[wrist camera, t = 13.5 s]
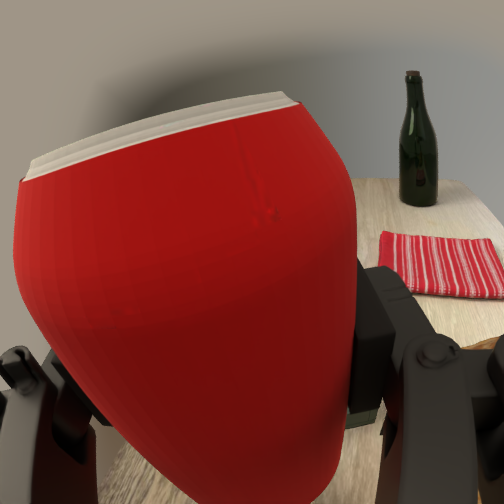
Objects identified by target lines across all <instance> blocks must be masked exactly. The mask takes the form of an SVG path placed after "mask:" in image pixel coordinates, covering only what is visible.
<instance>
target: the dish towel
mask: <svg viewBox="0 0 504 504" xmlns="http://www.w3.org/2000/svg"><path fill="white" fill-rule="evenodd" d="M379 251H380V254H379V261H378V266H384V265H386V266H388V267H389V268H391V269H392V270H394V271H395V272H397V273H398V274H399V275H400V277H401V278H402V280H403V281H404V283H405V284H406V287H408V289H409V290H410V292H411V293H424V294H433V295H447V296H449V295H450V296H456V297H468V298H493V299H494V298H497V299H502V298H504V270H503V267H502V265H501V263H500V260H499V258H498V256H497V253H496V251H495V248H494V246H493V244H492V242H491V240H490V239H488V238H487V239H486V238H485V239H474V240H470V239H466V240H465V239H456V238H441V237H432V236H421V235H417V236H411V235H407V234H397V233H391V232H388V231H382V234H381V235H380V240H379Z"/></svg>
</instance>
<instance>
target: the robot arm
mask: <svg viewBox="0 0 504 504" xmlns="http://www.w3.org/2000/svg"><path fill="white" fill-rule="evenodd" d="M0 375H1V376H2V378H3V379H4V380H5V381H6V383H7V384H8V385H9V386H10V387H11V389H10V390H5V391H0V504H98V494H97V476H96V435H95V430H94V429H93V428H92V426H91V425H90V424H89V422H90V420H91V417H92V414H93V416H94V417H95V418H96V419H97V420H98V421H99V422H100V423H101V424H102V425H104V426H112V427H114V426H113V425H112V424H111V423H110V422H109V421H108V420H107V419H106V418H105V416H104V415H103V414H102V413H101V412H100V411H99V410H98V408H97V407H96V406H95V405H94V404H93V402H92V401H91V400H90V399H89V398H88V396H87V395H86V394H85V393H84V391H83V390H82V389H81V388H80V386H79V385H78V384H77V382H76V381H75V380H74V378H73V377H72V376H71V374H70V373H69V372H68V370H67V369H66V368H65V366H64V365H63V364H62V362H61V361H60V359H59V358H58V356H57V355H56V354H55V352H54V351H53V349H52V348H51V350H50V352H49V353H48V355H47V357H46V359H45V360H44V362H43V364H42V366H40V365H39V363H38V362H37V361H36V359H35V358H34V357H33V355H32V354H31V352H30V351H29V350H28V348H27V347H25V346H15V347H13V348H11V349H9V350H8V351H6V352H5V353H4V354H2V356H1V357H0ZM382 397H383V400H384V403H385V407H386V410H387V414H386V417H385V420H384V423H383V426H382V429H381V432H380V435H383V444H382V454H381V463H380V471H379V479H378V486H377V493H376V499H375V504H478V490H479V494H480V498H481V503H482V504H504V334H503V335H501V336H500V337H499V339H498V340H497V342H496V344H495V346H494V348H493V349H470V350H469V349H460V347H459V345H458V344H457V343H456V342H455V341H454V340H452V339H451V338H449V337H447V336H445V335H443V334H437V333H436V332H435V330H434V329H433V327H432V325H431V324H430V322H429V320H428V319H427V317H426V315H425V314H424V312H423V311H422V309H421V307H420V306H419V304H418V303H417V301H416V300H415V298H414V297H412V293H411V292H410V290H409V289H408V287H406V284H405V283H404V281H403V280H402V278H401V277H400V275H399V274H398V273H397V272H395V271H394V270H392V269H391V268H389V267H388V266H386V265H384V266H378V267H372V268H366V269H363V267H362V265H361V263H360V261H359V260H358V258H357V289H356V316H355V328H354V342H353V356H352V368H351V378H350V388H349V397H348V408H349V412H350V415H352V414H356V413H361V412H366V411H370V410H374V409H378V408H380V404H381V400H382Z"/></svg>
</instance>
